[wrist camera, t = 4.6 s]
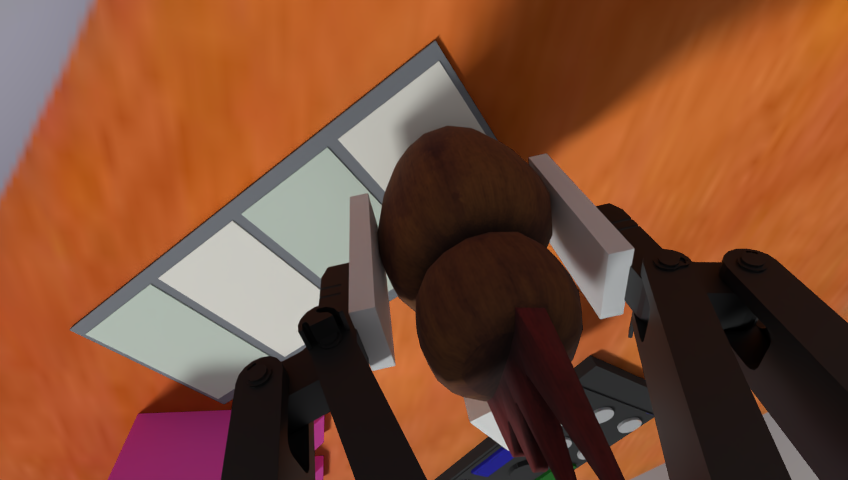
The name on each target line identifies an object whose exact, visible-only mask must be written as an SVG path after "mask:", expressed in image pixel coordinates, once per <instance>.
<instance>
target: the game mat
mask: <svg viewBox="0 0 848 480" xmlns="http://www.w3.org/2000/svg"><path fill="white" fill-rule="evenodd" d="M445 126H457V127H468V128H472V129H475V130H477V131H480V132H481V133H483V134H485V135H487V136H489V137H491V138H493V139H495V140H497V139H496V137H495V136H494V134H493V132H492V131H491V129H490V128H489V126H488V124H487V123H486V121H485V120H484V118H483V116H482V115H481V113H480V112H479V110H478V108H477V107H476V105H475V103H474V102H473V100H472V99H471V97H470V95H469V94H468V92H467V91H466V89H465V87H464V86H463V84H462V83H461V81H460V79H459V78H458V76H457V75H456V73H455V71H454V70H453V68H452V67H451V65H450V63H449V62H448V60H447V58H446V57H445V55H444V54H443V52H442V50H441V49H440V47H439V46H438V44H437V42H436V41H435V40H434V41H433V42H432V43H430V44H429V45H428V46H427V47H425V48H424V49H423V50H422V51H420V52H419V53H418V54H416V55H415V56H414V57H413V58H411V59H410V60H409V61H408V62H406V63H405V64H404V65H403V66H401V67H400V68H399V69H398V70H396V71H395V72H394V73H392V74H391V75H390V76H389V77H387V78H386V79H385V80H384V81H382V82H381V83H380V84H379V85H377V86H376V87H375V88H373V89H372V90H371V91H370V92H368V93H367V94H366V95H365V96H363V97H362V98H361V99H360V100H358V101H357V102H356V103H355V104H353V105H352V106H351V107H349V108H348V109H347V110H346V111H344V112H343V113H342V114H341V115H339V116H338V117H337V118H336V119H334V120H333V121H332V122H330V123H329V124H328V125H327V126H325V127H324V128H323V129H322V130H320V131H319V132H318V133H317V134H315V135H314V136H313V137H312V138H310V139H309V140H308V141H306V142H305V143H304V144H303V145H301V146H300V147H299V148H298V149H296V150H295V151H294V152H293V153H291V154H290V155H289V156H287V157H286V158H285V159H284V160H282V161H281V162H280V163H279V164H277V165H276V166H275V167H274V168H272V169H271V170H270V171H269V172H267V173H266V174H265V175H263V176H262V177H261V178H260V179H258V180H257V181H256V182H255V183H253V184H252V185H251V186H250V187H248V188H247V189H246V190H245V191H243V192H242V193H241V194H239V195H238V196H237V197H236V198H234V199H233V200H232V201H231V202H229V203H228V204H227V205H226V206H224V207H223V208H222V209H220V210H219V211H218V212H217V213H215V214H214V215H213V216H212V217H210V218H209V219H208V220H207V221H205V222H204V223H203V224H202V225H200V226H199V227H198V228H196V229H195V230H194V231H193V232H191V233H190V234H189V235H188V236H186V237H185V238H184V239H183V240H181V241H180V242H179V243H177V244H176V245H175V246H174V247H172V248H171V249H170V250H169V251H167V252H166V253H165V254H164V255H162V256H161V257H160V258H159V259H157V260H156V261H155V262H153V263H152V264H151V265H150V266H148V267H147V268H146V269H145V270H143V271H142V272H141V273H140V274H138V275H137V276H136V277H135V278H133V279H132V280H131V281H129V282H128V283H127V284H126V285H124V286H123V287H122V288H121V289H119V290H118V291H117V292H116V293H114V294H113V295H112V296H110V297H109V298H108V299H107V300H105V301H104V302H103V303H102V304H100V305H99V306H98V307H97V308H95V309H94V310H93V311H92V312H90V313H89V314H88V315H86V316H85V317H84V318H83V319H81V320H80V321H79V322H78V323H76V324H75V325H74V326H73V327H71V328H70V330H71V331H73V332H75V333H77V334H79V335H81V336H83V337H85V338H87V339H89V340H91V341H93V342H96V343H98V344H100V345H102V346H104V347H106V348H108V349H110V350H112V351H114V352H116V353H118V354H120V355H122V356H125V357H127V358H129V359H131V360H133V361H135V362H137V363H139V364H141V365H143V366H145V367H147V368H149V369H152V370H154V371H156V372H158V373H160V374H162V375H164V376H166V377H168V378H170V379H172V380H174V381H176V382H179V383H181V384H183V385H185V386H187V387H189V388H191V389H193V390H195V391H197V392H199V393H201V394H203V395H205V396H208V397H210V398H212V399H214V400H216V401H218V402H220V403H222V404H226V403H227V402H229V401H230V400H232V399H233V396H234V390H235V383H236V381H237V378H238V375H239V374H240V373H241V371H242V370H243V369H244V367H246V366H247V365H248V364H250V363H251V362H252V361H254V360H256V359H258V358H261V357H266V356H272V357H276V358H278V359H279V360H280V361H281V362H282V361H284V360H286V359H288V358H290V357H292V356H293V355H295V354H297V353H299V352H300V351H302V350H303V349H304V348H306V345H305V344H304V342H303V340H302V338H301V336H300V334H299V333H298V324H299V321H300V319H301V318H302V317H303V315H304V314H305V313H306V312H307V311H309V310H311V309H312V308H314V307H316V306H319V299H320V297H319V296H320V290H321V289H320V286H321V277H322V276H323V274H324V273H325V271H326V269H327V268H328V267H331V266H336V265H340V264H344V263H349V231H350V197H352V196H356V195H361V194H365V193H368V195H369V198H370V201H371V205H372V208H373V212H374V215H375V218H376V222H377V225H378V226H379V220H380V214H381V208H382V202H383V196H384V193H385V191H386V188H387V185H388V183H389V180H390V178H391V175H392V173H393V170H394V168H395V166H396V164H397V162H398V161H399V159H400V158H401V156H402V155H403V154H404V152H405V151H406V149H407V148H408V147H409V146H410V145H411V144H413V143H414V142H415V141H416V140H417V139H418V138H420V137H421V136H422V135H423V134H424V133H427V132H430V131H433V130H436V129H439V128H442V127H445ZM497 141H498V140H497ZM386 277H387V287H388V297H389V301H391V300H392V299H394V298H396V297H397V296H398V295H397V293H396V292H395V290H394V288H393V287H392V285H391V282H390V280H389V278H388V276H387V273H386Z"/></svg>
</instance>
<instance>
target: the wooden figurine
mask: <svg viewBox="0 0 848 480" xmlns="http://www.w3.org/2000/svg"><path fill="white" fill-rule="evenodd" d="M377 233H378V245H379V253H380V257H381V261H382V264H383V267H384V269H385V271H386V273H387V276H388V278H389V280H390V282H391V285H392V287H393V288H394V290H395V292H396V293H397V295H398V297H399V298H400V299H401V300H402V301H403V302H404V303H405V304H407V305H408V306H409V307H410V308H411V309H413V310H414V311H415V312H416V327H417V334H418V338H419V343H420V347H421V349H422V352H423V354H424V356H425V358H426V360H427V362H428V365H429V366H430V368H431V370H432V372H433V373H434V375H435V377H436V379H437V380H438V381H439V382H440V383H441V384H443V385H444V386H445V387H446V388H447V389H449V390H450V391H451V392H452V393H454V394H457V395H460V396H462V397H465V398H470V399H475V400H480V401H487V403H488V405H489V408H490V410H491V412H492V414H493V416H494V419H495V421H496V423H497V425H498V428H499V430H500V432H501V434H502V437H503V439H504V441H505V443H506V445H507V447H508V449H509V451H510V453H511V455H512V457H524V456H525V457H526V459H527V461H528V463H529V466H530V468H531V470H532V472H533V473H538V472H547V470H548V466H549V468H550V470H551V472H552V474H553V475H554V477H555V479H556V480H577V479H576V475H575V472H574V468H573V464H572V461H571V457H570V454H569V450H568V447H567V443H566V440H565V436H564V433H563V429H562V426H563V427H564V429H565V430H566V432H567V433H568V435H569V436H570V438H571V439H572V440H573V442H574V443H575V445H576V446H577V448H578V449H579V451H580V452H581V453H582V455H583V456H584V458H585V459H586V461H587V462H588V463H589V465H590V466H591V468H592V469H593V471H594V472H595V474H596V475H597V476H598V478H599V479H600V480H625V479H624V477H623V475H622V472H621V470H620V468H619V466H618V464H617V462H616V459H615V457H614V455H613V453H612V451H611V448H610V446H609V444H608V442H607V440H606V437H605V435H604V433H603V431H602V429H601V427H600V424H599V422H598V420H597V418H596V416H595V413H594V411H593V409H592V407H591V405H590V403H589V400H588V398H587V396H586V394H585V392H584V389H583V387H582V385H581V383H580V381H579V378H578V376H577V374H576V372H575V370H574V368H573V365H572V363H571V361H572V360H573V358H574V355H575V352H576V349H577V347H578V343H579V340H580V337H581V333H582V330H583V325H582V310H581V303H580V296H579V291H578V289H577V287H576V285H575V283H574V281H573V279H572V277H571V275H570V274H569V273H568V271H567V270H566V269H565V268H564V266H563V265H562V264H561V263H560V261H559V260H558V259H557V258H556V257H555V256H554V255H553V254H552V253H551V252H550V251H549V250H548V249H547V246H548V244H549V242H550V239H551V237H552V213H551V202H550V193H549V191H548V190H547V188H546V186H545V185H544V183H543V181H542V179H541V178H540V177H539V175H538V174H537V173H536V172H535V171H534V170H533V169H532V168H531V166H530V165H529V164H527V163H526V162H525V161H524V160H523V159H522V158H521V157H520V156H519V155H518V154H516V153H515V152H514V151H513V150H512V149H510V148H509V147H507V146H506V145H504V144H502V143H501V142H499V141H497V140H495V139H493V138H491V137H489V136H487V135H485V134H483V133H481V132H480V131H477V130H475V129H472V128H468V127H457V126H445V127H442V128H439V129H436V130H433V131H430V132H427V133H424V134H423V135H422V136H421V137H420V138H418V139H417V140H416V141H415V142H414V143H413V144H411V145H410V146H409V147H408V148H407V149H406V151H405V152H404V154H403V155H402V156H401V158H400V159H399V161H398V162H397V164H396V166H395V168H394V170H393V173H392V175H391V178H390V180H389V183H388V185H387V188H386V191H385V193H384V196H383V202H382V208H381V214H380V220H379V226H378V232H377ZM561 425H562V426H561Z"/></svg>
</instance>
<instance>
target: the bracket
mask: <svg viewBox="0 0 848 480" xmlns="http://www.w3.org/2000/svg"><path fill="white" fill-rule="evenodd" d="M230 416H231V410H218V411H193V412H168V413H143V414H138V415H137V417H136V419H135V422H134V424H133V426H132V428H131V430H130V433H129V435H128V437H127V439H126V441H125V443H124V446H123V448H122V450H121V452H120V454H119V457H118V459H117V461H116V463H115V465H114V467H113V470H112V472H111V474H110V476H109V478H108V480H221V475H222V468H223V462H224V455H225V449H226V442H227V436H228V429H229V423H230ZM323 442H324V415H323V416H322V417H320V418H318V419H316V420H314V446H315V450H316V449H317V448H318V447H319V446H320V445H321V444H322V443H323ZM323 466H324V456H315V480H323Z"/></svg>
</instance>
